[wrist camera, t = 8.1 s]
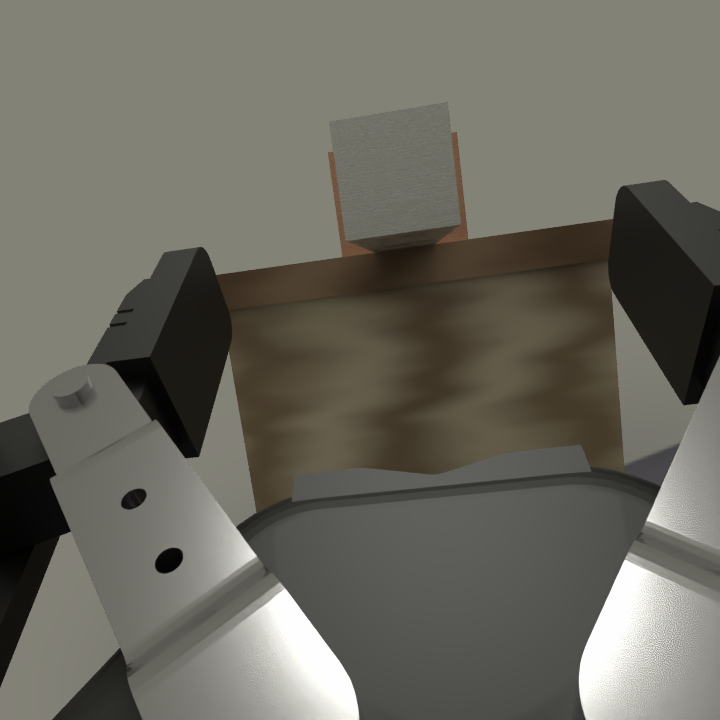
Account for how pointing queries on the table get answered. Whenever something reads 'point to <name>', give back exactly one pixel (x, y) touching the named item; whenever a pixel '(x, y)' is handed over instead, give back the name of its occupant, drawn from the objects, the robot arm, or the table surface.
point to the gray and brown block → (397, 180)
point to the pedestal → (427, 356)
